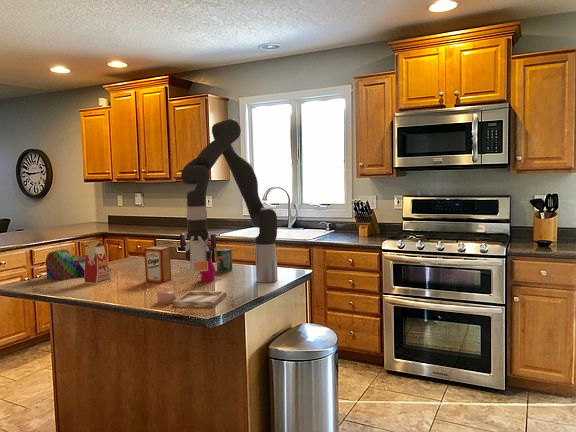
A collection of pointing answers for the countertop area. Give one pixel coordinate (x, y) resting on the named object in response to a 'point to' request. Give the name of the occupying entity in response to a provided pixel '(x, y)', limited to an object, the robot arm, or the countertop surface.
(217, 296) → the maple tray
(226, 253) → the canned tomato
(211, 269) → the pepper mill
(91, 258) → the milk carton
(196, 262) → the skincare box
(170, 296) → the tan rounded blob
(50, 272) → the rainbow checkered teapot
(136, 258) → the countertop surface
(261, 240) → the robot arm
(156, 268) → the baking soda box
